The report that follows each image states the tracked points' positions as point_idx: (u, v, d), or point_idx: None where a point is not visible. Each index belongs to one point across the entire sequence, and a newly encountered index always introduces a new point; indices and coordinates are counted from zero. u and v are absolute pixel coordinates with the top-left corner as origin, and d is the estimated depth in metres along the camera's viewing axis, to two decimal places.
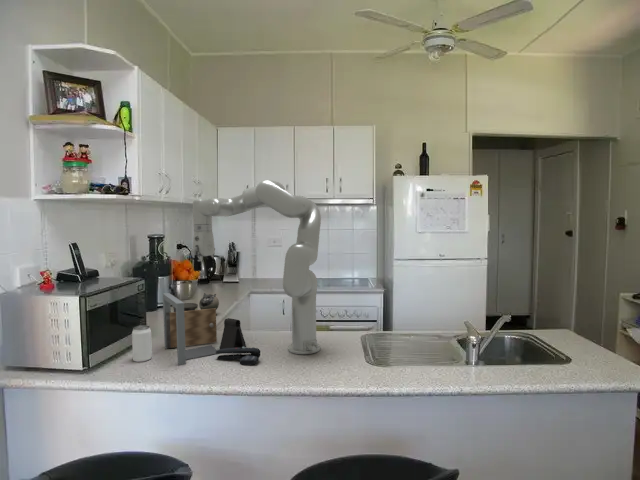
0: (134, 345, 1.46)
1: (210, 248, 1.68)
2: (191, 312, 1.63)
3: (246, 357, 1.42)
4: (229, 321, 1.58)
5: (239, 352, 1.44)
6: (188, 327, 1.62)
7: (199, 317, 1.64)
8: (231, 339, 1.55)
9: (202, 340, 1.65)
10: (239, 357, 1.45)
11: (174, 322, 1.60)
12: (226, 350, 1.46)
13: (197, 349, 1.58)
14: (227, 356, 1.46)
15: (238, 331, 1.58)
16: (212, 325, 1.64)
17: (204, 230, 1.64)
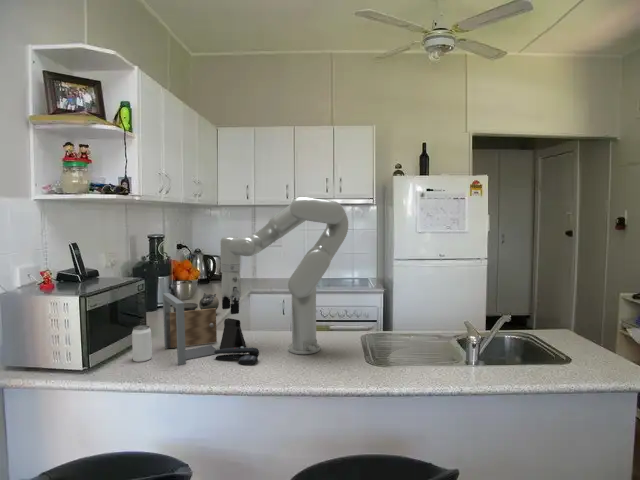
0: (134, 345, 1.46)
1: None
2: (191, 312, 1.63)
3: (245, 357, 1.42)
4: (229, 321, 1.58)
5: (238, 352, 1.44)
6: (188, 327, 1.62)
7: (199, 317, 1.64)
8: (231, 339, 1.55)
9: (202, 340, 1.65)
10: (238, 357, 1.45)
11: (174, 322, 1.60)
12: (224, 350, 1.46)
13: (197, 349, 1.58)
14: (225, 356, 1.46)
15: (238, 331, 1.58)
16: (212, 325, 1.64)
17: (238, 270, 1.56)
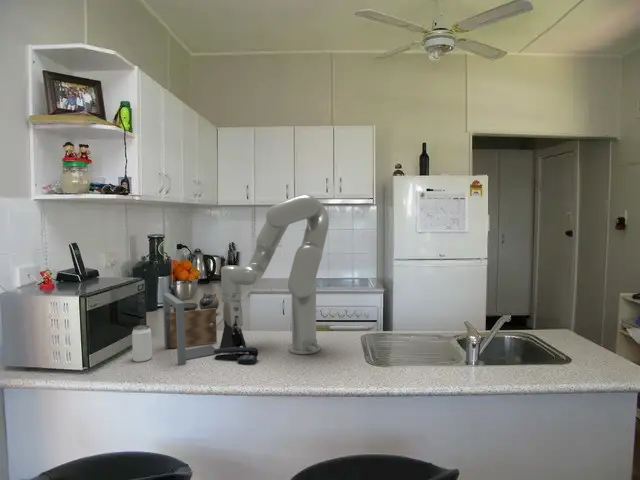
0: (134, 345, 1.46)
1: None
2: (191, 312, 1.63)
3: (244, 356, 1.43)
4: None
5: (237, 351, 1.45)
6: (188, 327, 1.62)
7: (199, 317, 1.64)
8: (231, 339, 1.55)
9: (202, 340, 1.65)
10: (237, 356, 1.45)
11: (174, 322, 1.60)
12: (224, 350, 1.46)
13: (197, 349, 1.58)
14: (225, 356, 1.47)
15: None
16: (212, 325, 1.64)
17: (240, 298, 1.57)
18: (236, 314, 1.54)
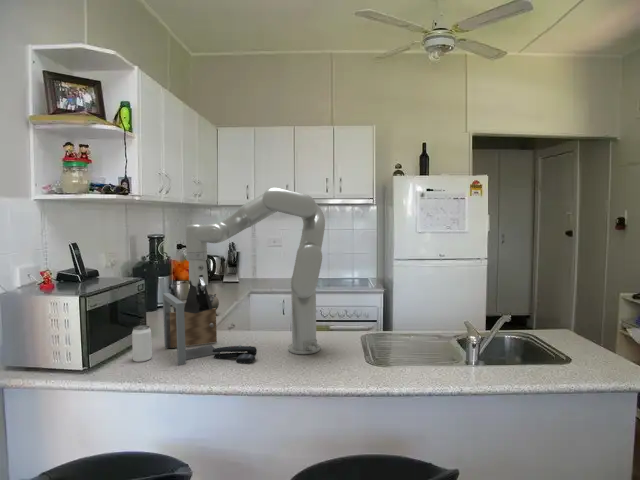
0: (134, 345, 1.46)
1: None
2: None
3: (243, 355, 1.44)
4: None
5: (236, 350, 1.46)
6: (188, 327, 1.62)
7: (199, 317, 1.64)
8: None
9: (202, 340, 1.65)
10: (236, 355, 1.47)
11: (174, 322, 1.60)
12: (223, 349, 1.47)
13: (197, 349, 1.58)
14: (224, 355, 1.48)
15: None
16: (212, 325, 1.64)
17: (205, 258, 1.52)
18: (201, 273, 1.49)
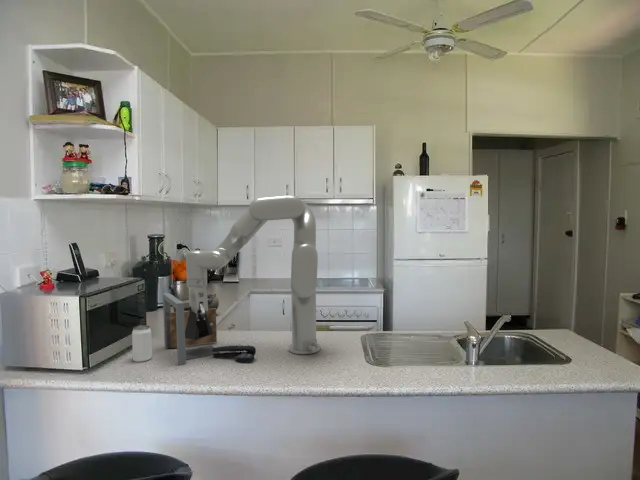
0: (134, 345, 1.46)
1: None
2: None
3: (242, 355, 1.45)
4: None
5: (235, 350, 1.47)
6: None
7: None
8: None
9: (202, 340, 1.65)
10: (235, 355, 1.47)
11: (174, 322, 1.60)
12: (222, 348, 1.48)
13: (197, 349, 1.58)
14: (223, 354, 1.49)
15: None
16: (212, 325, 1.64)
17: (205, 284, 1.53)
18: (201, 300, 1.50)
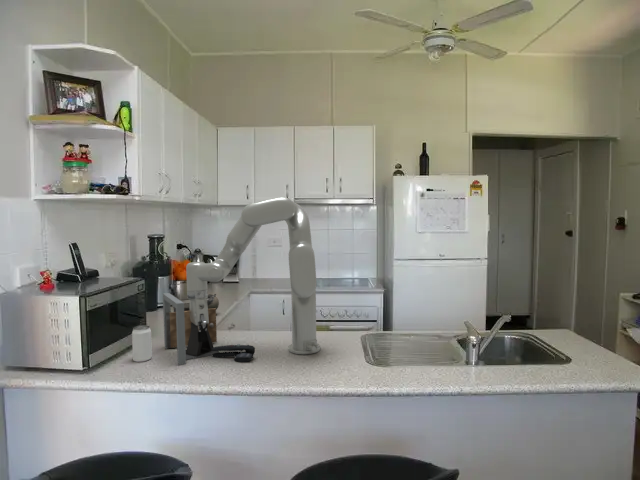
0: (134, 345, 1.46)
1: None
2: None
3: (241, 354, 1.45)
4: None
5: (234, 349, 1.47)
6: (188, 327, 1.62)
7: None
8: (198, 342, 1.51)
9: None
10: (234, 354, 1.48)
11: (174, 322, 1.60)
12: (221, 348, 1.49)
13: None
14: (222, 353, 1.49)
15: None
16: (212, 325, 1.64)
17: (205, 296, 1.53)
18: (201, 312, 1.50)
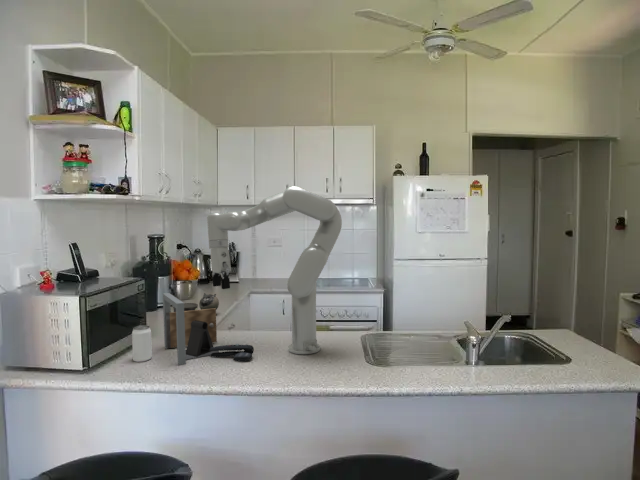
0: (134, 345, 1.46)
1: None
2: (191, 312, 1.63)
3: (240, 354, 1.46)
4: (196, 323, 1.53)
5: (233, 349, 1.48)
6: (188, 327, 1.62)
7: (199, 317, 1.64)
8: (198, 342, 1.51)
9: None
10: (233, 354, 1.48)
11: (174, 322, 1.60)
12: (220, 347, 1.49)
13: None
14: (221, 353, 1.50)
15: (205, 334, 1.54)
16: (212, 325, 1.64)
17: (227, 245, 1.57)
18: (224, 260, 1.55)
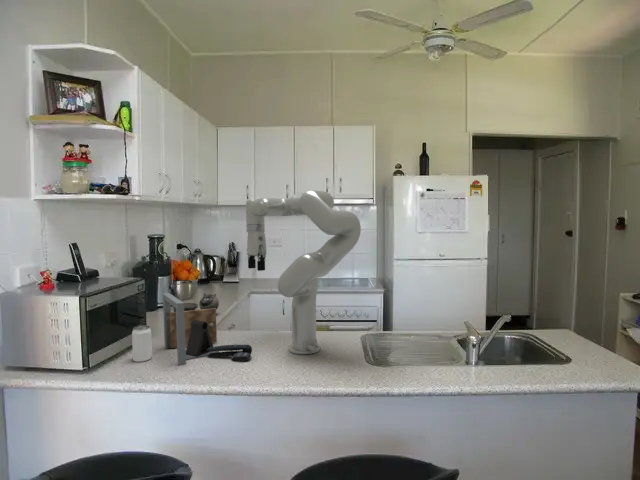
0: (134, 345, 1.46)
1: None
2: (191, 312, 1.63)
3: (238, 354, 1.46)
4: (196, 323, 1.53)
5: (231, 349, 1.48)
6: (188, 327, 1.62)
7: (199, 317, 1.64)
8: (198, 342, 1.51)
9: None
10: (231, 354, 1.48)
11: (174, 322, 1.60)
12: (218, 348, 1.49)
13: None
14: (218, 353, 1.49)
15: (205, 334, 1.54)
16: (212, 325, 1.64)
17: (263, 230, 1.67)
18: (260, 243, 1.64)
